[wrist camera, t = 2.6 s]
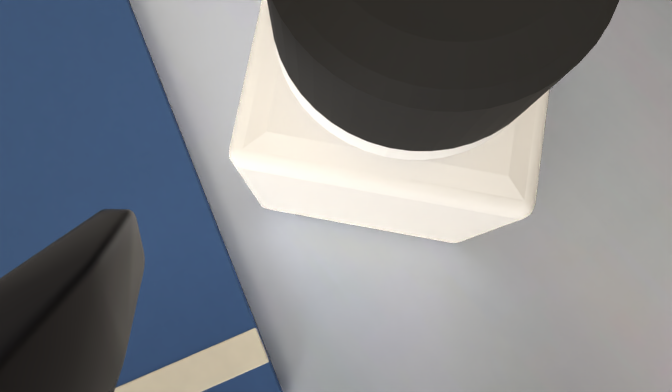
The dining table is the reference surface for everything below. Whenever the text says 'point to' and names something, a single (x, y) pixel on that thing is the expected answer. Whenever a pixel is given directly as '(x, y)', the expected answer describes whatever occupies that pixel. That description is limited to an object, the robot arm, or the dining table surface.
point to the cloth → (119, 189)
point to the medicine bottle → (406, 108)
